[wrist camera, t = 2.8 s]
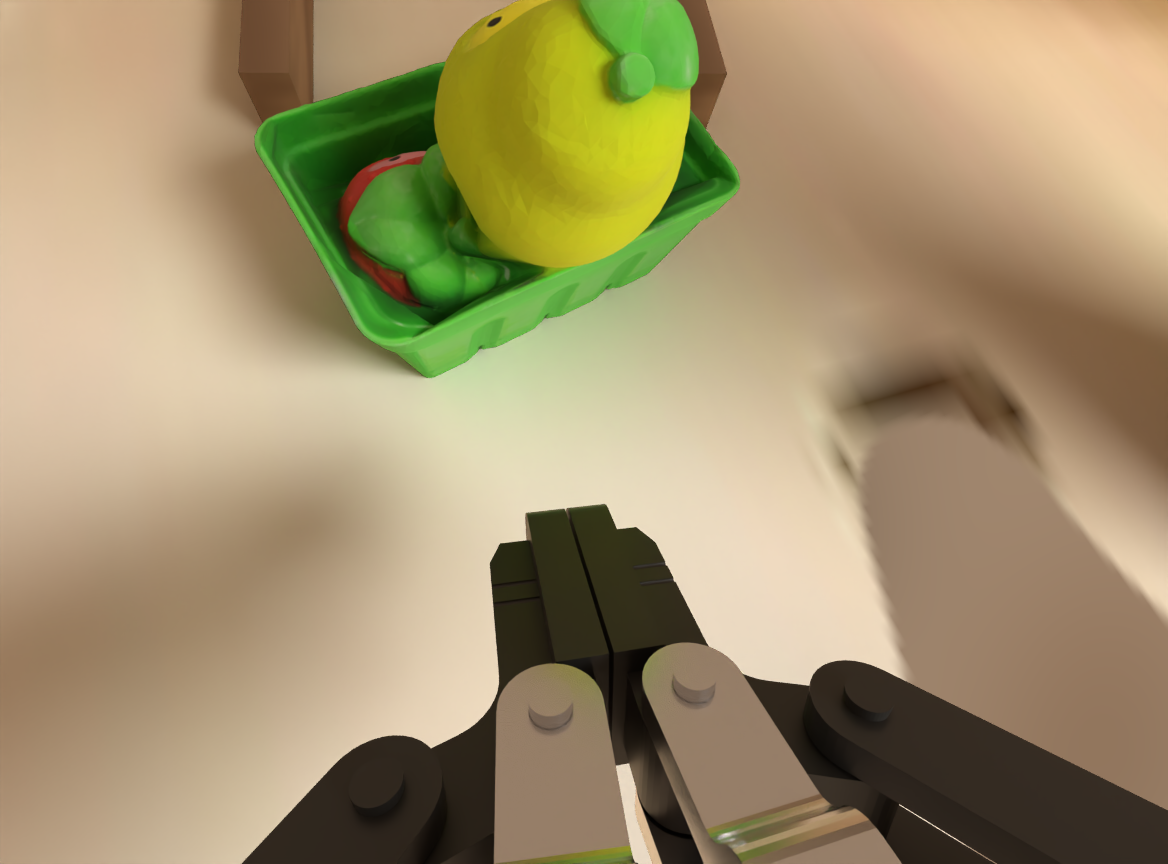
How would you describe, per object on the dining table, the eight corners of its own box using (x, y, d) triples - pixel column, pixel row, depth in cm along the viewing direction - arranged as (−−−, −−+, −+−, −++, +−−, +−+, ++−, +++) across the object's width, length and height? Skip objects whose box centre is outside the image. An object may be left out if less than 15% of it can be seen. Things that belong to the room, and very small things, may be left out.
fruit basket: (587, 135, 23) (656, -298, 12) (719, 311, 21) (936, -23, 10) (305, 247, 20) (69, -205, 9) (429, 465, 18) (311, 215, 7)
